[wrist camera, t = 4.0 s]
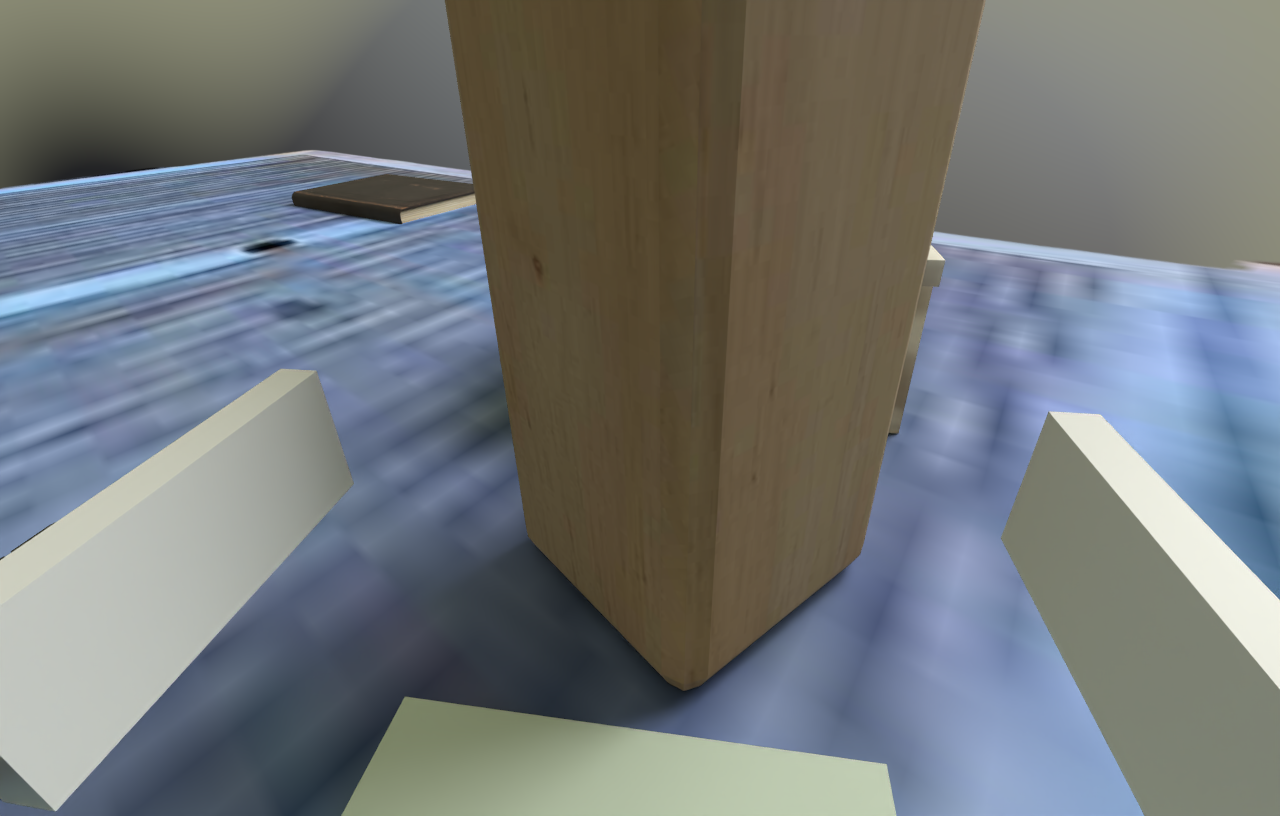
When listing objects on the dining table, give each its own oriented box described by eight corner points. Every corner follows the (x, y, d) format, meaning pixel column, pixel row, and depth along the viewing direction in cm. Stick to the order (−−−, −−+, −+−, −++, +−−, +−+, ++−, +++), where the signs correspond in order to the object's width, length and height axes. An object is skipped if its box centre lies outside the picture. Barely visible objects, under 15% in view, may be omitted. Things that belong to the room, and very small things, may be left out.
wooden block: (518, 542, 25) (418, -67, 15) (693, 451, 30) (708, -41, 20) (683, 717, 18) (705, -178, 8) (870, 561, 24) (1026, -94, 13)
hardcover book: (390, 189, 96) (386, 174, 95) (494, 203, 85) (492, 186, 84) (295, 209, 85) (289, 192, 83) (402, 228, 74) (397, 209, 73)
